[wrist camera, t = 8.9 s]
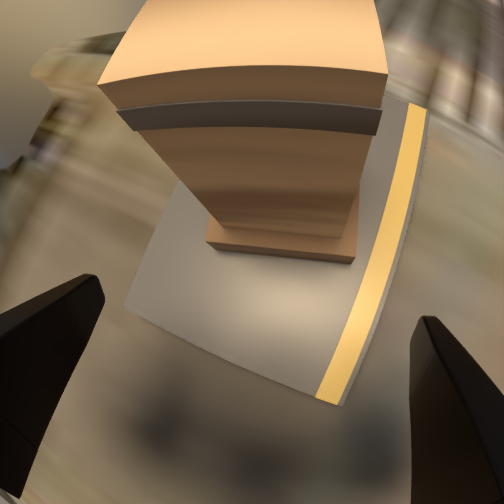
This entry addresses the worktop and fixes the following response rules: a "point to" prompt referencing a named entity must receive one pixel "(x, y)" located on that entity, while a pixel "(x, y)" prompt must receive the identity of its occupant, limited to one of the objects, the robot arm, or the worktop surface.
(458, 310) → the worktop surface
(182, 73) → the tan piece
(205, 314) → the plate
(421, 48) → the worktop surface
